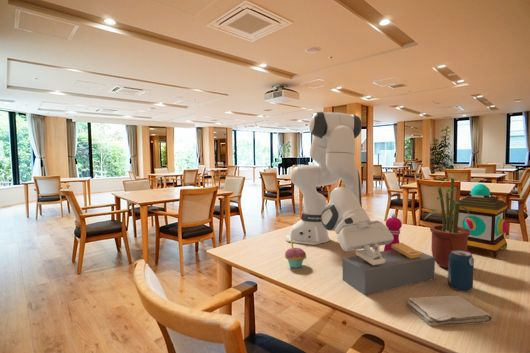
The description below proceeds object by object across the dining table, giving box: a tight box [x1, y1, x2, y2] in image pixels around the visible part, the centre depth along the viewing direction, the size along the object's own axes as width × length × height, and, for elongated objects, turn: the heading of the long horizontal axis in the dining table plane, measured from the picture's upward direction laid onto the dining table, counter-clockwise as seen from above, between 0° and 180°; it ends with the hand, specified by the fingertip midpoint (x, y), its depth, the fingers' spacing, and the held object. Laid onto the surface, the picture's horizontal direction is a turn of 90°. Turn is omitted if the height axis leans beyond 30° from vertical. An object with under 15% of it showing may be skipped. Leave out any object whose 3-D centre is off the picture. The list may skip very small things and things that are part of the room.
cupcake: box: [284, 239, 307, 269], centre depth 118 cm, size 9×8×12 cm
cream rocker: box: [355, 249, 385, 265], centre depth 100 cm, size 9×5×1 cm, turn 20°
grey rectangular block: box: [342, 249, 436, 296], centre depth 104 cm, size 12×30×9 cm, turn 110°
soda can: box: [447, 250, 475, 292], centre depth 97 cm, size 7×7×12 cm
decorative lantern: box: [453, 183, 509, 259], centre depth 131 cm, size 20×20×30 cm
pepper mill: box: [383, 213, 403, 251], centre depth 119 cm, size 7×7×20 cm
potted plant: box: [423, 177, 470, 270], centre depth 115 cm, size 17×16×35 cm
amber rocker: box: [391, 242, 423, 259], centre depth 106 cm, size 9×5×1 cm, turn 20°
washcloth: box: [406, 295, 493, 327], centre depth 82 cm, size 12×18×3 cm, turn 97°
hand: (377, 258), depth 97 cm, fingers closed, pressing on cream rocker
